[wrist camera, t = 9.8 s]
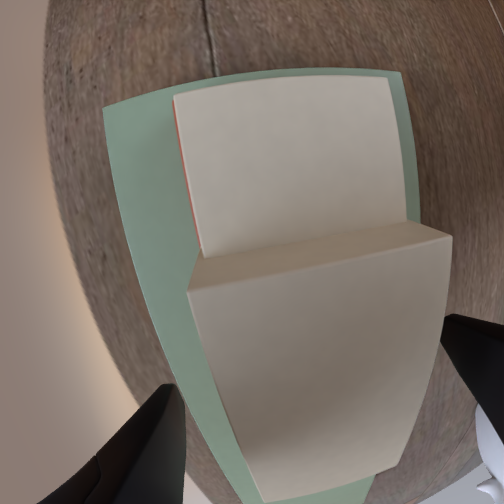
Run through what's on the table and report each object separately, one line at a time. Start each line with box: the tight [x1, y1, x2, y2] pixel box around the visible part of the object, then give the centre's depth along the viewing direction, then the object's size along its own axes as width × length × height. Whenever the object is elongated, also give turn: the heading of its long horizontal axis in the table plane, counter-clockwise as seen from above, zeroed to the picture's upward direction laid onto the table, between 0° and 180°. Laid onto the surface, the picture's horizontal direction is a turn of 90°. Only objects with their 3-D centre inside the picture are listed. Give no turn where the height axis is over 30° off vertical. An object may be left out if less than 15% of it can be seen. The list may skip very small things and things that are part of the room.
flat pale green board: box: [103, 68, 420, 504], centre depth 15 cm, size 36×11×3 cm, turn 10°
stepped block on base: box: [172, 75, 453, 503], centre depth 8 cm, size 14×6×5 cm, turn 10°
